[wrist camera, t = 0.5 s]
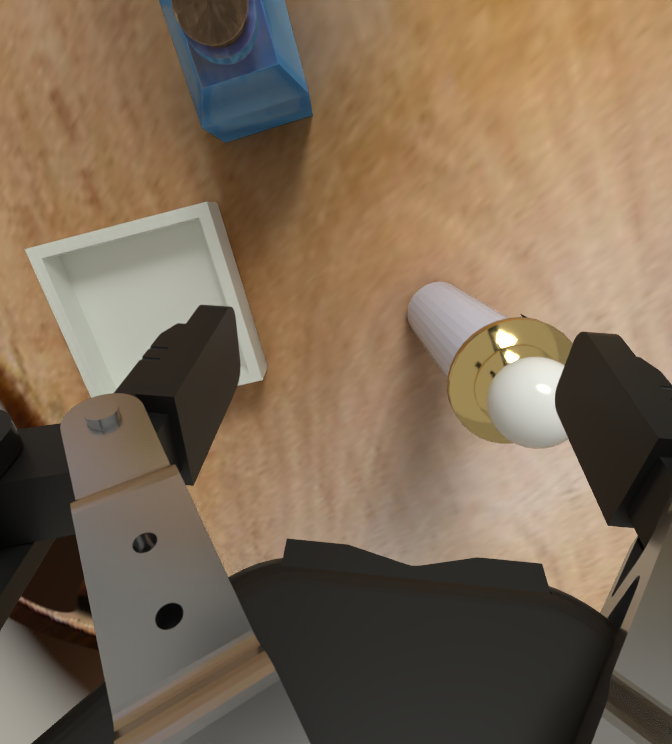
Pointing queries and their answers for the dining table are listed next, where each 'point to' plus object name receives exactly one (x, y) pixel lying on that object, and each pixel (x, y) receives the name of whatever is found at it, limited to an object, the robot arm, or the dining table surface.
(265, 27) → the perfume bottle
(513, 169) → the dining table surface
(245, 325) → the dish
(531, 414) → the perfume bottle
